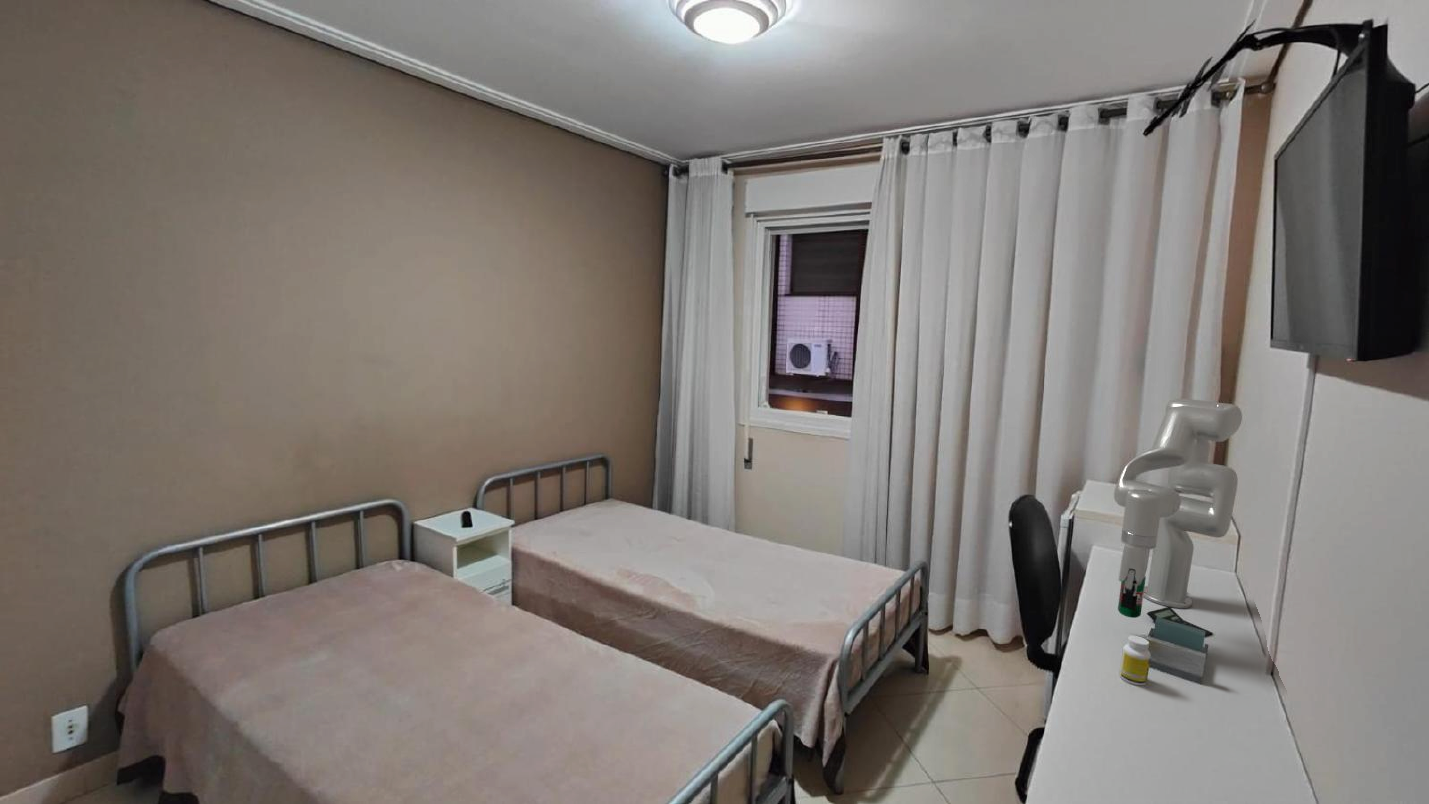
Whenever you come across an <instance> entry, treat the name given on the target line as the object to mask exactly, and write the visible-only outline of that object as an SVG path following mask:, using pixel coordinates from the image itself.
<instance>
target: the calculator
mask: <svg viewBox="0 0 1429 804" xmlns="http://www.w3.org/2000/svg"><path fill="white" fill-rule="evenodd" d="M1146 615H1147V616H1148V617H1149V618H1151V619H1150V620H1152V621H1153V622H1154V623H1155V621H1156V619H1157V617H1159V618H1162V619H1166V620H1169V621H1173V622H1176V623H1180V624H1183V625H1187V626H1190V627H1193V628H1197V629H1200V630H1204V631H1206V632H1205V638H1207V637H1209V636H1213V632H1212V631H1210V630H1208V629H1205V628H1203V627H1201V626H1199V625H1197V624H1193V623H1191V622H1189V621H1186V620H1184V619H1183V618H1182V617H1181V616H1180V615H1179V614H1178V613H1177V612H1176V611H1175V610H1174V609H1173V607H1169V606H1166V607H1163V608H1159V609H1155V610H1151V611H1148V612H1146Z"/></svg>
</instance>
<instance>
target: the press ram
mask: <svg viewBox="0 0 1429 804" xmlns="http://www.w3.org/2000/svg"><path fill="white" fill-rule="evenodd" d="M1205 632H1206V631H1204V630H1200V629H1197V628H1193V627H1190V626H1187V625H1183V624H1180V623H1176V622H1173V621H1169V620H1166V619H1162V618H1159V617H1157V619H1156V621H1155V622H1154V634H1153V638H1156V639H1159V640H1162V641H1166V642H1169V643H1172V644H1175V645H1179V646H1182V647H1185V648H1188V649H1192V650H1195V651H1198V652H1201V653H1202V650H1203V647H1204V645H1205V644H1204V643H1205V638H1206V637H1205Z"/></svg>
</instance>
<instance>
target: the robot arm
mask: <svg viewBox="0 0 1429 804" xmlns="http://www.w3.org/2000/svg"><path fill="white" fill-rule="evenodd" d="M1242 421H1243V413H1242V410H1241V408H1240V406H1237V405H1235V404H1232V403H1224V402H1217V401H1208V400H1207V401H1206V400H1202V399H1201V400H1200V399H1192V398H1190V399H1189V398H1174V399H1171V400H1169V401H1168V402H1167V404H1166V406H1165V414H1164V416H1163V419H1162V421H1161V424H1160V426H1159V429H1158V430H1157V431H1158V432H1157V434H1156V436H1155V440H1154V441H1153V444H1152V447H1151V448H1150V449H1149V450H1146V451H1144V452H1142V453H1140V454H1138V455H1137V456H1135V457H1133V458H1132V459H1131V460H1130V461H1129V462H1127V463H1126V464H1125V465H1124V467H1123V468H1122V470H1121V472H1120V475H1119V478H1118V480H1117V483H1116V485H1115V487H1114V493H1113V495H1114V496H1113V497H1114V502H1116V503H1117V505H1118V506H1120V507H1122V508H1124V513H1123V520H1122V521H1123V522H1122V529H1121V536H1120V542H1121V543H1123V545H1124V546H1123V551H1122V556H1121V562H1120V566H1119V573H1118V581H1119V582H1121V581H1124V580H1125V585H1124V591H1123V593H1122V601H1121V607H1123V608H1127V609H1130V610H1136V604H1137V595H1136V594H1137V588H1138V586H1139V585H1141V583H1142V581H1143V578H1144V576H1145V577H1146V573H1147V570H1148V569H1147V568H1148V565H1149V558H1150V553H1151V552H1150V550H1152V554H1151V561H1150V566H1149V567H1150V568H1149V574H1148V575H1149V576H1148V581H1147V585H1145V587H1144V594H1143V598H1145V599H1147V600H1148V601H1149V602H1152V603H1156V604H1158V605H1161V606H1166V607H1171V608H1174V609H1175V608H1177V609H1186V608H1190V607H1191V606H1192V605H1193V601H1192V599H1191V598H1190V596H1187V594H1188V593H1187V592H1188V586H1189V581H1190V575H1191V568H1192V562H1193V555H1194V548H1195V547H1194V543H1193V540H1192V538H1191V536H1190V535H1189V533H1188V532H1190V533H1194V534H1199V535H1203V536H1206V537H1211V538H1224V537H1225V536H1226V535H1227V533H1228V532H1229V529H1230V526H1231V521H1232V515H1233V513H1234V512H1233V511H1234V506H1235V501H1236V494H1237V490H1238V474H1237V472H1236V471H1235V469H1233V468H1231V467H1229V466H1225V465H1221V464H1216V463H1210V462H1209V456H1210V451H1211V443H1210V442H1217V443H1218V442H1219V443H1221V442H1222V443H1223V442H1225V441H1226V440H1228V439H1229V438H1230V437H1232V436H1233V435H1234V434H1236V432H1237V431H1238V430H1239V429H1240V427H1241V424H1242ZM1162 469H1169V470H1168V475H1167V484H1168V486H1170V488H1169V487H1167V486H1166V487H1165V486H1163V485H1162V486H1161V485H1157V484H1152V483H1148V482H1143V481H1138V480H1136V479H1137V478H1138V477H1139V476H1141V475H1142V474H1145V473H1148V472H1151V471H1156V470H1162ZM1178 491H1180V492H1183V493H1188V494H1193V495H1197V496H1198V495H1199V496H1203V497H1206V498H1210V499H1211V500H1212V502H1211V501H1206V500H1201V499H1196V498H1192V497H1188V496H1183V495H1180V494H1179V493H1178ZM1125 578H1126V579H1125ZM1133 581H1136V583H1133ZM1133 586H1135V588H1132V587H1133Z"/></svg>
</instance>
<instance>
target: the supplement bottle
mask: <svg viewBox="0 0 1429 804" xmlns="http://www.w3.org/2000/svg"><path fill="white" fill-rule="evenodd" d="M1148 648H1149V642H1148V641H1147V640H1146V639H1144V638H1143V637H1142V636H1139V635H1138V636H1137V635H1129V636H1128V638H1127V643H1126V644H1124V646H1123V647H1122V651H1121V652H1122V654H1121V659H1120V665H1119V666H1120V667H1119V671H1118V672H1119V673H1118V674H1119V677H1120V678H1121V679H1122V680H1123V681H1124V682H1127V683H1128V684H1131V685H1133V686H1145V685H1146V684H1147V683H1148V676H1149V670H1150V667H1149V665H1150V659H1151V654H1150V652H1149V651H1148V650H1147V649H1148Z"/></svg>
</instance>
